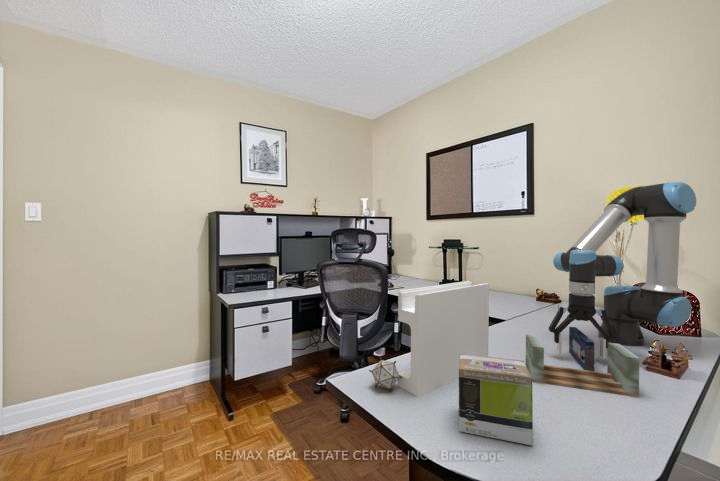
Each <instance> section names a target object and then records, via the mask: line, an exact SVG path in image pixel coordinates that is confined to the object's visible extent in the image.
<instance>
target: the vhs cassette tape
mask: <svg viewBox="0 0 720 481" xmlns="http://www.w3.org/2000/svg"><path fill="white" fill-rule="evenodd" d="M568 328H569V330H568V332H569V334H568V345H569V346H568V349H569V350H568V352H569V354H570V356H572V358H574V360H575V361H576V362H577V363H578V365H579V366H580V367H581V368H582V370H587V371H595V342H594V341H593V340H592V339H591V338H590V337H589V336H587V335H586V334H584V332H582V331H581V330H580V329H578V328H577V327H576V326H569V327H568Z"/></svg>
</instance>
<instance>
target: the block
mask: <svg viewBox="0 0 720 481" xmlns="http://www.w3.org/2000/svg"><path fill="white" fill-rule="evenodd" d="M472 284H473V282H472V281H471V280H465V281H464V280H463V281H459V282H458V281H457V282H451V283H450V282H449V283H445V284H436V285H430V286H423V287H414V288H409V289H401V290H398V291H397V292H398V293H397V294H398V297H397V299H398V300H397V305H398V307H397V315H398V316H397V321H399V322H402V323H404V324H407V325H408V326H409V327H410V369H407V370H404V371H401V372H398V374H399V376H401V377H402V378H399V379H398V380H397V386H398V387H400V388H402V389H403V390H405V391H406V392H409V393H410V394H411V395H413V396H416V397H418V398H419V397H421V396H424V395H425V394H427V393H430V392H432V391H434V390H436V389H438V388H442V387H443V386H445V385H447V384H449V383H451V382H454V381H456V380H459V356H460V354H466V355H476V356H485V357H489V330H490V329H489V323H490V322H489V320H490V319H489V317H490V315H489V314H490V313H489V312H490V304H489V303H490V283H489V282H488V283H487V282H486V283H480V284H474V285H472Z"/></svg>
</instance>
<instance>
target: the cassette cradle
mask: <svg viewBox="0 0 720 481" xmlns="http://www.w3.org/2000/svg"><path fill="white" fill-rule="evenodd" d="M640 362H641V361H640V357H638V356H637V355H636V354H635V353H633V352H631V351H630V350H628V349H627V348H626V347H625V346H624V345H623V344H618V343H613V342H609V343H608V348H607V367H606V368H607V370H606V371H607V372H601V371H595V370H594V371H587V370H584V369H579V368H571V367H562V366H554V365H548V364H545V347H544V345H543V344H542V342H541V341H540V339H539V338H538V336H537V335H535V334H534V335H533V334H527V333H526V334H525V365H526V367H527V369H528V371H529V373H530V375H531V377H532V383H537V384H538V383H540V384H547V385H554V386H559V387H565V388H566V387H567V388H573V389H578V390H579V389H581V390H587V391H588V390H589V391H594V392H601V393H606V394H607V393H609V394H614V395H621V396H628V397H636V398H639V397H640V394H639V393H640Z"/></svg>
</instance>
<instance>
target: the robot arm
mask: <svg viewBox="0 0 720 481" xmlns="http://www.w3.org/2000/svg"><path fill="white" fill-rule="evenodd" d="M696 206H697V196H696V193H695V191H694V189H693V188H692V186H690V185H689V184H687V182H682V181H676V182H675V181H674V182H673V181H672V182H664V183H656V184H651V185H641V186H635V187H633V188H630V189H628V190H626V191H624V192H622V193H621V194H619V195H617V196H616V197H615V198H613V199H612V200H611V201H610V202H608V204H607V205H606V206H605V207H604V208H603V213H602V214H601V215H600V216H599V217H598V218H597V219H596V220H595V221H594V223H593V224H592V225H590V227H588V229H587V230H586V231H585V232H584V233H583V234H582V235H581V236H580V237H579V239H578V240H577V241H576V242H574V244H573V245H572V246H571V247H570V248H569V249H568V250H567V251H566V252H564V251H563V252H559V253H556V254H555V255H554V257H553V266H554V268H555V269H556V270H558V271H562V272H566V273H569V274H568V275H569V278H568V292H569V293H568V305H567V306H562V305H558V306H557V312H556V313H555V316H554V317H553V319H552V321H551V323H550V324H549V326H548V328H547V329H548V331H549V332H550V333H553V334H554V335H553V341H554V343H555V344H557V345H556V346H557V347H556V351H557V352H558V354H562V353H563V352H562V350H563V349H562V348H563V347H562V344H563V342H562V341H563V335H562V334H561V333H562V332H563V331H564V330H565V329H566V328H567V327H568V326H569V325H570V324H571V323H572V322H574V321H575V320H576V321H583V322H588V321H589V322H590V323H591V324H592V326H594V327H595V329H597V332H598V333H597V334H598V335H597V336H598V338H599V356H600V357H601V358H602V359H606V356H607V355H606V354H607V349H608V343H616V344H620V345H622V346H624V345H625V346H631V347H632V346H635V347H637V346H638V347H639V346H644V345H645V336H644V334H643V331H642V328H641V326H640V321H642V322H647V323H651V324H655V325H659V326H663V327H664V326H665V327H669V328H678V327H681V326H683V325H684V324H685V323H686V322H687V321H688V319H689V317H690V316H691V313H692V304H691V302H690V299H688V298H686V297H684V296H683V295H684V292H683V290H682V289H680V288H679V287H678V276H679V259H680V258H679V256H680V255H679V253H680V238H681V237H680V234H681V233H680V232H681V224H682V222H683V221H685V220H686V219H687V214H689V213H691V212H693V211H694V210H695V208H696ZM635 216H643V219H644V220H645V222H647V223H648V230H647V231H648V232H647V233H648V234H647V252H646V255H647V258H646V276H645V284H643V285H642V286H641V287H640V286H637V285H635V286H634V285H632V286H631V285H612V286H611V285H610V286H606V287H605V288H604V293H603V308H598V309H596V296H595V294H596V277H609V278H610V277H613V276H618V275H620V274H621V273H622V272H624V269H625V268H624V267H625V265H624V261H623V260H622V258H620V257H619V256H616V255H611V254H606V255H603V254H601V255H599V254H596V252H597V251H598V250H599V249H600V247H601V246H603V245H604V243H605V242H606V241H607V240H608V239H609V238H610V237H611V236H612V235H613V234H614V233H615V232H616V230H617V229H618V228H619V227H620V226H621V225H622V224H623V223H627V222H629V220H631V218H633V217H635ZM566 312H568V313H569V314H568V315H566V318H564V319H563V321H562V322H561V319H562V318H563V315H564V314H566ZM596 314H597V315H598V316H599V317H600V319H601V321H602V322H601V324H599V323H598V322H597V320H596V318H594V316H595V315H596ZM560 322H561V323H560ZM559 323H560V324H559Z"/></svg>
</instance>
